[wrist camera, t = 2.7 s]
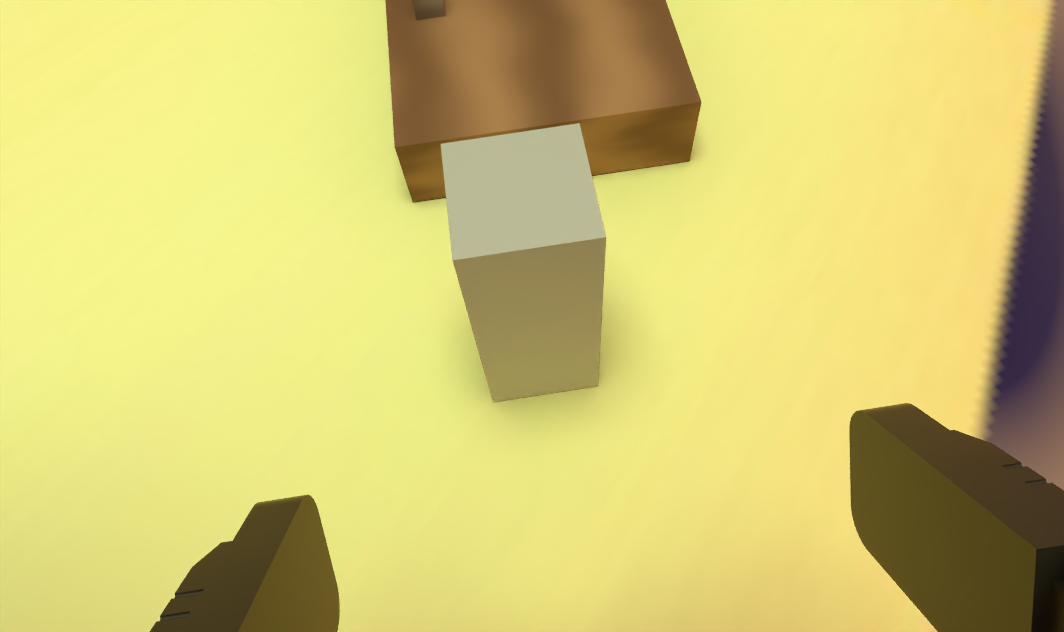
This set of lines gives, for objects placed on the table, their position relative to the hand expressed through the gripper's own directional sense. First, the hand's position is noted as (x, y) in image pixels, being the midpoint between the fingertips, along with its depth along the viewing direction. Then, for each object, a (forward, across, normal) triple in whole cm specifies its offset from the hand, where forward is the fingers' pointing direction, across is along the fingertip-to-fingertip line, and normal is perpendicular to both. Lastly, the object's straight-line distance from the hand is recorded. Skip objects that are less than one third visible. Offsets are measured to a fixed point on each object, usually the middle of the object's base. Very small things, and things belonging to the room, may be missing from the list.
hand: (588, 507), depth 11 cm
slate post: (+20, 0, +4) cm, 21 cm away
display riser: (+35, -2, -10) cm, 36 cm away
